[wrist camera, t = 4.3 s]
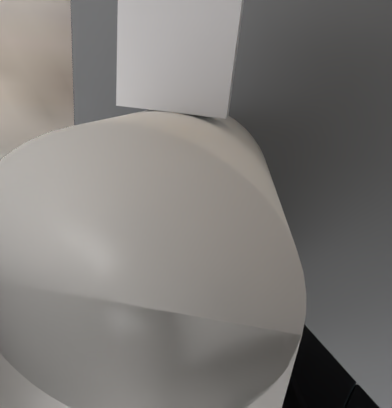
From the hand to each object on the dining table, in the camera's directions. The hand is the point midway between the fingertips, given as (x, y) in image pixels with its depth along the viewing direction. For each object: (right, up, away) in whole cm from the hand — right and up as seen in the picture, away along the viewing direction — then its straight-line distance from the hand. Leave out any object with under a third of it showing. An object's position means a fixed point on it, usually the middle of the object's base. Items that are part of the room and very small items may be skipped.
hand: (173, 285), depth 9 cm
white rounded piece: (0, +1, 0) cm, 2 cm away
